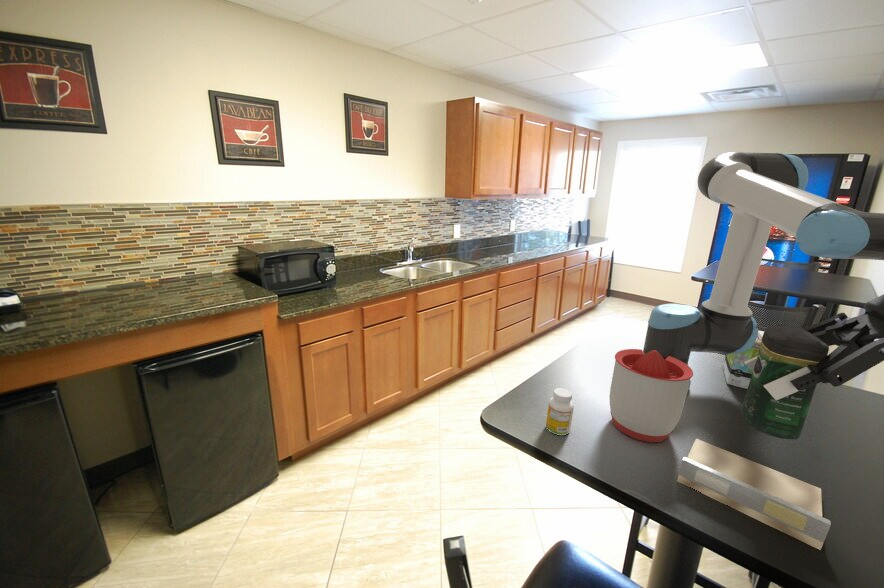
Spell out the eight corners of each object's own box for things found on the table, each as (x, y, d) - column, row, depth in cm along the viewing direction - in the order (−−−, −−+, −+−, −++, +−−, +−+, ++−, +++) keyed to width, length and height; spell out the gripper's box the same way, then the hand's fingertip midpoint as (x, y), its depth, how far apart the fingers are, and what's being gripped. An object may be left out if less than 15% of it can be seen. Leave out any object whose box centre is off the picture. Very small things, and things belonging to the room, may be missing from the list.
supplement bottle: (553, 419, 90) (558, 383, 88) (573, 430, 87) (579, 392, 84) (541, 428, 86) (546, 391, 84) (562, 440, 83) (568, 401, 80)
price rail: (678, 475, 71) (682, 460, 70) (680, 471, 73) (684, 456, 72) (823, 544, 58) (830, 526, 57) (823, 538, 59) (830, 520, 58)
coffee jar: (805, 447, 62) (841, 344, 57) (746, 431, 66) (775, 333, 61) (788, 419, 70) (819, 326, 65) (736, 406, 74) (761, 317, 69)
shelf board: (677, 481, 72) (678, 474, 72) (694, 444, 83) (696, 438, 83) (820, 550, 59) (823, 542, 58) (818, 495, 70) (821, 488, 70)
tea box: (769, 395, 106) (784, 347, 102) (726, 384, 111) (738, 338, 108) (760, 374, 119) (772, 331, 115) (721, 366, 124) (732, 324, 120)
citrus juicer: (678, 420, 92) (696, 345, 87) (675, 459, 78) (697, 373, 73) (610, 399, 100) (623, 330, 95) (597, 432, 86) (611, 352, 81)
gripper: (1000, 356, 47) (801, 430, 57) (884, 310, 66) (752, 371, 76) (957, 309, 47) (767, 391, 57) (854, 277, 67) (727, 342, 77)
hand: (758, 380), depth 67 cm, fingers closed on coffee jar, 9 cm apart
